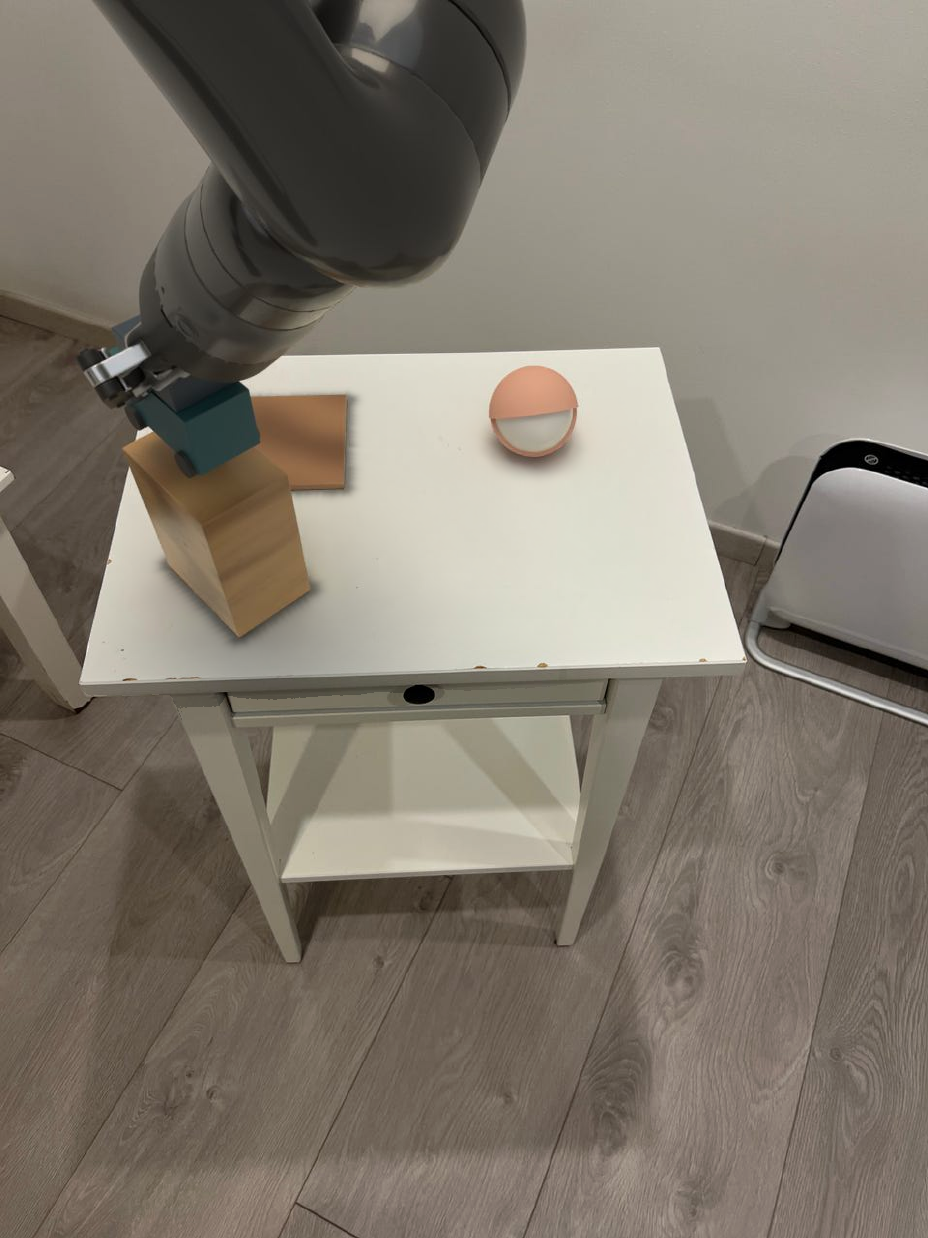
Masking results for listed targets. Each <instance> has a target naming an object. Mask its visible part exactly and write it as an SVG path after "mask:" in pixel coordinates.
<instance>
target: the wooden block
mask: <svg viewBox="0 0 928 1238" xmlns="http://www.w3.org/2000/svg"><path fill="white" fill-rule="evenodd" d="M122 452H123V454H124V457H125V459H126V462H127V465H128V467H129V469H130V472H131V474H132V477H133V479H134V482H135V484H136V487H137V489H138V492H139V494H140V497H141V499H142V502H143V505H144V507H145V509H146V511H147V515H148V517H149V520H150V522H151V524H152V527H153V529H154V532H155V534H156V536H157V539H158V541H159V544H160V547H161V550H162V552H163V554H164V557H165V560H166V562H167V564H168V566H169V567H170V568H171V569H172V570H173V572H175V573H176V574H177V575H178V576H179V577H180V578H181V579H182V580H183V582H185V584H187V586H188V587H189V588H190V589H191V590H192V591H193V592H194V593H195V594H196V595H197V596H198V597H199V598H200V599H201V600H202V601H203V602H204V603H205V604H206V605H207V606H208V607H209V609H211V611H213V612H214V614H216V616H217V617H218V618H219V619H220V620H221V621H222V622H223V623H224V624H225V625H226V626H227V627H228V628H229V629H230V630H231V631H232V633H234V634H235V635H236V637H238V638H241V637H243V636H245V635H246V634H248V633H249V632H251V631H252V630H253V629H255V628H256V627H258V626H259V625H261V624H262V623H264V622H265V621H267V620H269V618H271V617H272V616H274V615H275V614H277V613H279V612H280V611H282V610H283V609H284V608H286V607H288V606H289V605H290V604H292V603H293V602H295V601H296V600H298V599H299V598H301V597H303V596H304V595H305V594H306V593H308V592H310V591H311V584H310V579H309V574H308V570H307V564H306V559H305V555H304V550H303V544H302V540H301V534H300V530H299V529H300V528H299V525H298V520H297V519H298V518H297V515H296V509H295V504H294V500H293V494H292V490H291V489H290V484H289V479H288V475H287V474H286V473H285V472H284V471H283V470H282V469H281V468H279V467H278V466H277V465H276V464H275V463H274V462H272V461H271V460H270V459H269V458H268V457H267V456H265V455H264V454H263V453H262V452H261V451H260V450H259V449H257V448H256V447H255V446H254V447H252V448H251V449H249V450H247V451H245V452H243V453H242V454H240V455H238V456H236V457H234V458H233V459H231V460H229V461H227V462H226V463H224V464H222V465H220V466H218V467H217V468H215V469H213V470H211V471H209V472H208V473H206V474H204V475H202V476H201V475H199V474H197V475H196V476H194V477H192V478H188V477H186V476H185V475H184V474H183V472H182V471H181V470H180V468H179V467H178V465H177V463H176V461H175V458H174V454H175V453H176V452H175V451H174V450H173V449H172V448H171V447H170V446H169V445H167V444H166V443H165V442H164V441H163V440H162V439H161V438H160V437H159V436H158V435H157V434H156V433H155V432H154V431H153V430H152V431H151V432H149V433H147V434H145V435H143V436H142V437H139V438H138V439H136V440H133V442H130V443H129V444H127V445H125V446H123V447H122Z"/></svg>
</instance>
